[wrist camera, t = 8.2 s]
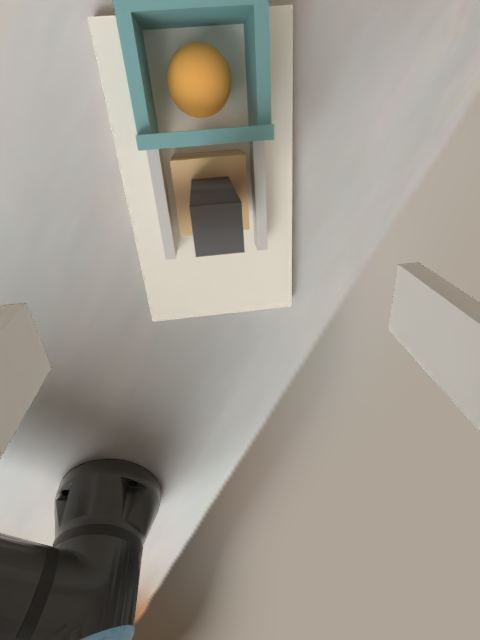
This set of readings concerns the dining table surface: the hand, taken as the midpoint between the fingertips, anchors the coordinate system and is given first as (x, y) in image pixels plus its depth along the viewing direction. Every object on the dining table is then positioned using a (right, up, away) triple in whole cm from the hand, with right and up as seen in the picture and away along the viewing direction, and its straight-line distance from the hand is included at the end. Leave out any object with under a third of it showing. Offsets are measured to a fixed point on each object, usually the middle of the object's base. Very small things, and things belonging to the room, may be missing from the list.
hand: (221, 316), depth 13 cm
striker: (-2, +13, +21) cm, 25 cm away
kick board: (-2, +13, +23) cm, 27 cm away
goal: (-3, +20, +17) cm, 27 cm away
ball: (-3, +18, +15) cm, 24 cm away
